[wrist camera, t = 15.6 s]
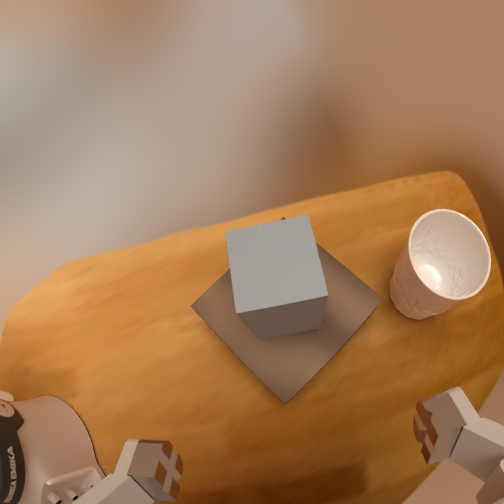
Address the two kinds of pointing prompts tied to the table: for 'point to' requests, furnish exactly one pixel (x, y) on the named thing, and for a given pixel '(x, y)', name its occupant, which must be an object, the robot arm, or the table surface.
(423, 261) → the white cup
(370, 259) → the table surface
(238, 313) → the slate block
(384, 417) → the table surface
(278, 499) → the table surface
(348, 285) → the walnut box
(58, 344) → the table surface
